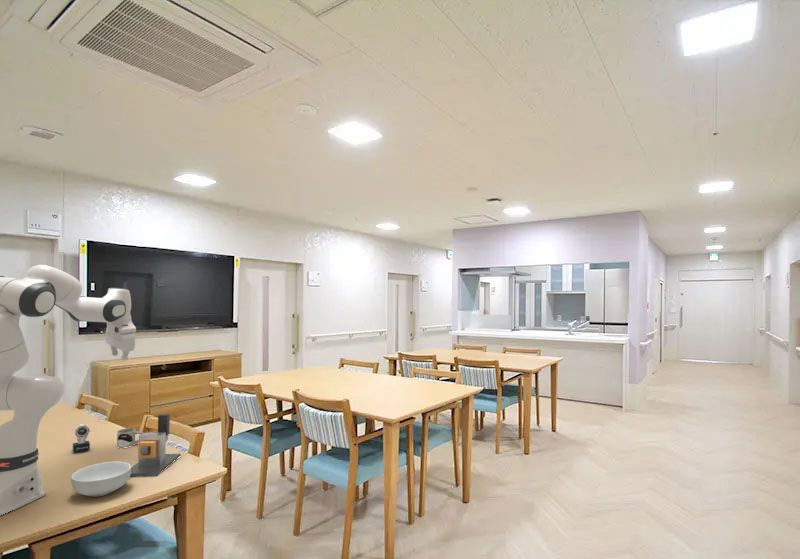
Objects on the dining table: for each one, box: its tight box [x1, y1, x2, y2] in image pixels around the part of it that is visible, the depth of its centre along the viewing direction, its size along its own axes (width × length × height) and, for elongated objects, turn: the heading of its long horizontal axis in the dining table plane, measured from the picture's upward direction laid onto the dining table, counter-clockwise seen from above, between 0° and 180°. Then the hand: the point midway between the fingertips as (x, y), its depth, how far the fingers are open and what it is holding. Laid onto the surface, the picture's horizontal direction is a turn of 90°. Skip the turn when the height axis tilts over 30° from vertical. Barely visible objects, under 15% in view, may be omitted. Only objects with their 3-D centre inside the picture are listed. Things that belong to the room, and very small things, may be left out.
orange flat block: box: [137, 441, 157, 458], centre depth 169 cm, size 2×6×6 cm, turn 92°
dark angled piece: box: [141, 413, 171, 454], centre depth 175 cm, size 16×4×10 cm, turn 2°
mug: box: [116, 427, 144, 449], centre depth 198 cm, size 10×7×7 cm, turn 108°
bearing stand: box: [129, 431, 182, 478], centre depth 174 cm, size 20×12×12 cm, turn 2°
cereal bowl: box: [70, 460, 132, 498], centre depth 152 cm, size 17×17×7 cm
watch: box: [72, 423, 91, 454], centre depth 191 cm, size 6×8×11 cm
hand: (119, 357), depth 192 cm, fingers open, 8 cm apart
